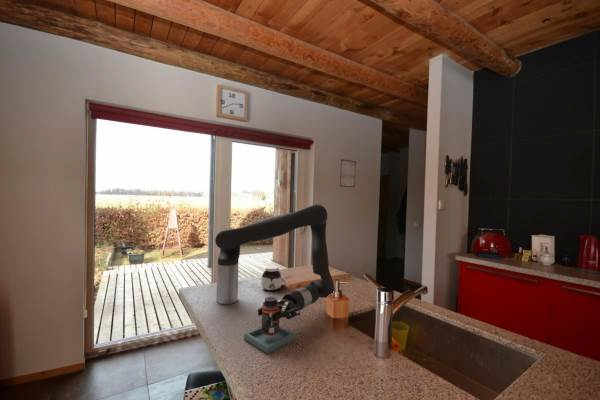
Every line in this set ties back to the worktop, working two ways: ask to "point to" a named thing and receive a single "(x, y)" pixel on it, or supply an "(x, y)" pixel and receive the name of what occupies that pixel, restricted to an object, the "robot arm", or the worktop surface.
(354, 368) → the worktop surface
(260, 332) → the tray
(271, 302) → the supplement bottle
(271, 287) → the spread jar
